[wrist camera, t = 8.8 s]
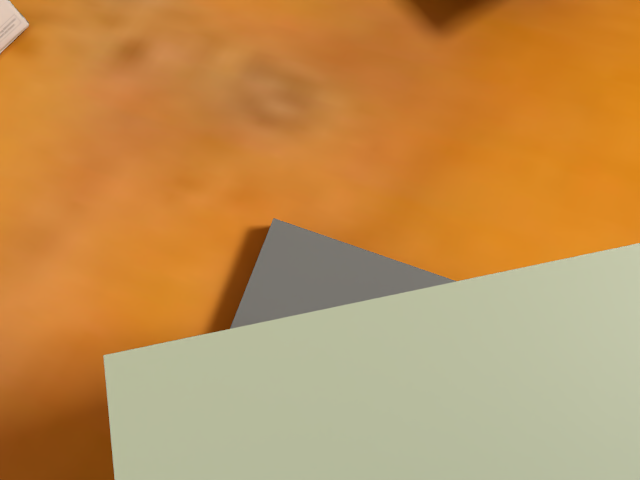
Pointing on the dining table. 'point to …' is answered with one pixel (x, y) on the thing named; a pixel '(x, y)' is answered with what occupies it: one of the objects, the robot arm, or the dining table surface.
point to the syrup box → (10, 23)
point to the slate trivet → (320, 276)
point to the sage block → (401, 386)
